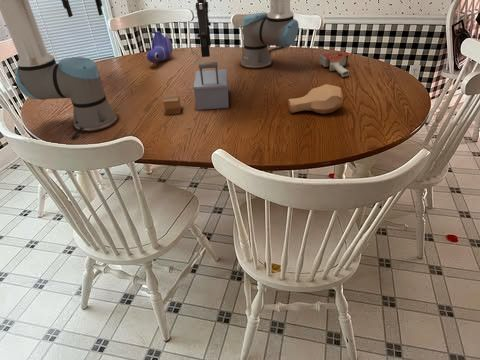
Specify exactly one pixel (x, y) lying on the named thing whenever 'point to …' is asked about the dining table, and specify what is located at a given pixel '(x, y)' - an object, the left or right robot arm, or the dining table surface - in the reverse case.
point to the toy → (159, 48)
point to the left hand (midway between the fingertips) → (85, 15)
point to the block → (172, 104)
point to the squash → (319, 100)
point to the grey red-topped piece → (335, 62)
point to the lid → (210, 76)
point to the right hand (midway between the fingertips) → (206, 50)
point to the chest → (211, 98)
